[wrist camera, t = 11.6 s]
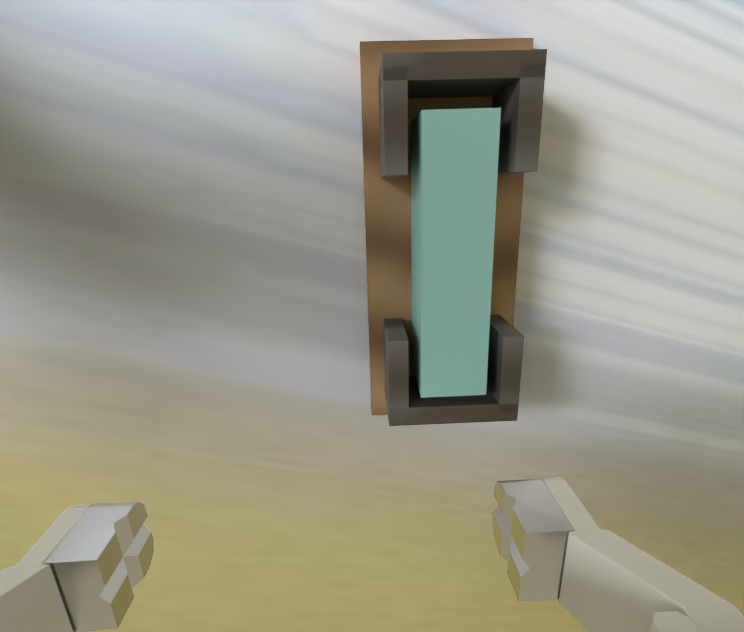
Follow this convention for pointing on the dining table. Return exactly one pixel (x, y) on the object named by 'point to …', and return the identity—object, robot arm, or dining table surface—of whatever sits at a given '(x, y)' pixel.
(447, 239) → the slat
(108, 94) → the dining table surface
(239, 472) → the dining table surface
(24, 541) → the dining table surface
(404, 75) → the sharpening stone holder
